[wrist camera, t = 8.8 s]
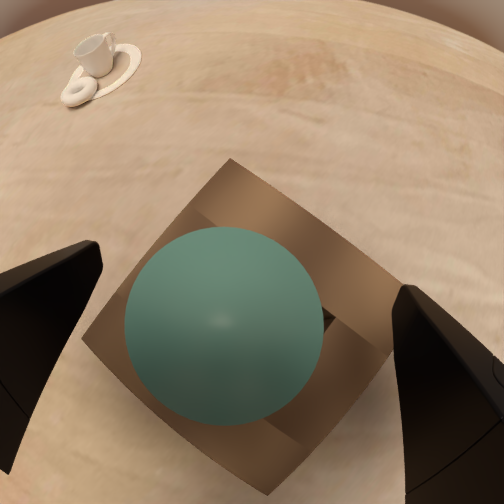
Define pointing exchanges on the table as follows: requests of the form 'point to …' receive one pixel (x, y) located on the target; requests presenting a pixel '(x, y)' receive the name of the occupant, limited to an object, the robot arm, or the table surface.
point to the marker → (224, 326)
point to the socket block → (334, 337)
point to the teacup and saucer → (97, 68)
